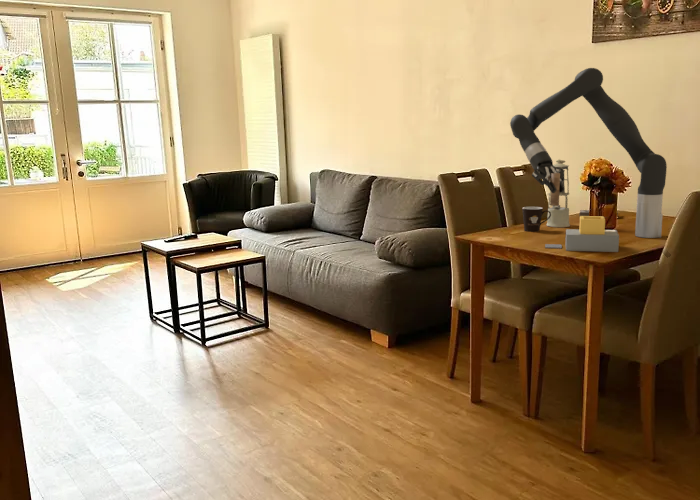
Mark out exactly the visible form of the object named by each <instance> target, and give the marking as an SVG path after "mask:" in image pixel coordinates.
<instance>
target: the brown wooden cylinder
mask: <svg viewBox="0 0 700 500" xmlns="http://www.w3.org/2000/svg"><path fill="white" fill-rule="evenodd" d="M551 181H552V182H553V184H554V186H555V187H556V189H557V190H556V192H555V193H552V192H551V193H550V192H549V193H550V195H549V197H550V205H549V206H552V207H553V206H558V205H560V196H559V190H560V173H551Z"/></svg>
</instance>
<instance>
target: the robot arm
mask: <svg viewBox="0 0 700 500" xmlns="http://www.w3.org/2000/svg"><path fill="white" fill-rule="evenodd" d="M603 81H604V75H603V72H602V71H601V70H599V69H598V68H595V67H589V68H585V69H584V70H581V71H580V72H578V73H577V74H576V76H575V77H574V80H573V81H572V82H571V83H570V84H568V85H567V86H565V87H564V88H562V89H561V90H559V91H557V92H555V93H554V94H552V95H550V96H548V97H547V98H545V99H543V100H542V101H541V102H539V103H538V104H536V105H535V106H533V107H531V109H530V111H529V114H528V116H526V115H523V114H516V115H513V116H512V118H511V120H510V123H509V125H510V129H511V131H512V135H513V137H514V138H515V139H517V140H518V141H519V144H520V148H521V149H522V150H523V152H524V154H525V156H526V159H527V160H528V162H529V164H530V165H531V167H532V169H533V170H534V171H533V172H532V174H531V176H532V177H533V178H534V179H535V180H536V181H537V182H538V183H539V184H540V185H542V186H544V185H545V186H546V187H547V188H548V190H549V192H550V191H551V192H552V193H555V192H556V190H557V189H556V187H555V186H554V184H553V182H552V181H551V173H560V190H559V191H560V192H563V191H564V190H565V187H564V186H565V185H564V186H563V184H562V182H563V180H564V179H565V171H564V172H563V170H564V169H562V168H560V170H559V169H556V167H554V166H553V165H554V164H553V159H552V158H551V156H550V154H549V152H548V151H547V149H546V148H545V147H544V145H543V144H542V143H541V140H540V139H539V137H538V136H537V135H536V133H535V130H536V129H538V128H539V126H540V125H541V124H542V123H544V122H545V121H546V120H549V119H550V118H551V117H553V116H554V115H556V114H558V113H559V112H560V111H561V110H563V108H566V106H568V105H570V103H572V102H574V101H575V100H577V99H579V98H581V97H583V98H584V100H586V101H587V103H588V104H589V105H590V106H591V107H592V108H593V110H594V112H596V114H597V115H598V117H599V119H600V121H602V123H603V124H604V126H605V127H606V129H608V131H609V132H610V133H611V135H612V136H613V137H614V138H615V140H616V141H617V142H618V143H619V144H620V146H621V147H622V148H624V150H625V151H626V152H627V153H628V155H629V156H630V157H629V158H631V160H632V161H633V163H634V165H635V167H636V168H637V170H638V172H639V173H640V180H639V181H640V182H639V185H638V187H637V196H636V197H637V199H636V212H635V213H636V215H635V229H634V230H635V232H634V235H635V236H636V237H638V238H647V239H648V238H649V239H650V238H651V239H652V238H653V239H655V238H662V228H663V212H662V211H663V199H664V198H663V197H664V188H665V186H666V180H667V179H666V178H667V167H668V166H667V165H668V164H667V161H666V159H665V157H664V156H662V155H661V154H657V153H655V152H654V151H653V150H652V149H651V147H649V146H648V145H647V144H646V142H645V141H644V139H643V138H642V135H641V132H640V130H639V128H638V126H637V124H636V123H635V120H634V119H633V118H632V117H631V115H630V114H629V112H627V110H626V109H625V108H624V107H623V106H622V105H621V104H619V102H616V101H615V100H614V99H613V98H611V96H609V95H608V94H607V92H606V91H605V89H604V87H602V84H603ZM564 181H565V180H564ZM565 191H566V190H565Z"/></svg>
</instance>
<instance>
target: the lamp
mask: <svg viewBox="0 0 700 500" xmlns="http://www.w3.org/2000/svg"><path fill="white" fill-rule="evenodd" d="M555 162H556V163H555V164H553V166H554V167H556V169H559V170H560V168H562V169H563V172H564V173H565V170H566V176H567V178H566V179H565V178H564V180H563V182H562V184H563V186H564V187H565V181H567V192H566V190H564V191H563V192H560V191H559V197H561V196H564V197H565V199H564V200H565V203H564V204H565V206H563V207H561V205H560V204H559V205H558V206H552V207H550V206H551V205H550V193H551V191H550V190H549V193H548V194H547V195H548V203H547V210H548V211H550V212H551V217H550V218H549V219H548V220H547V221H546V222H547V223H546V226H547V227H552V228H566V227H567V228H568V227H570V226H571V224H570V208H569V207H568V202H569V201H568V199H569V198H568V196H569V195H570V192H569V191H570V189H569V188H570V187H569V185H570V182H569V166H570V165H568V164H564V163H566V161H565V160H561V159H558V160H556V161H555ZM549 216H550V214H549V212H547V216H546V217H547V218H548V217H549ZM547 218H546V219H547Z"/></svg>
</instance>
